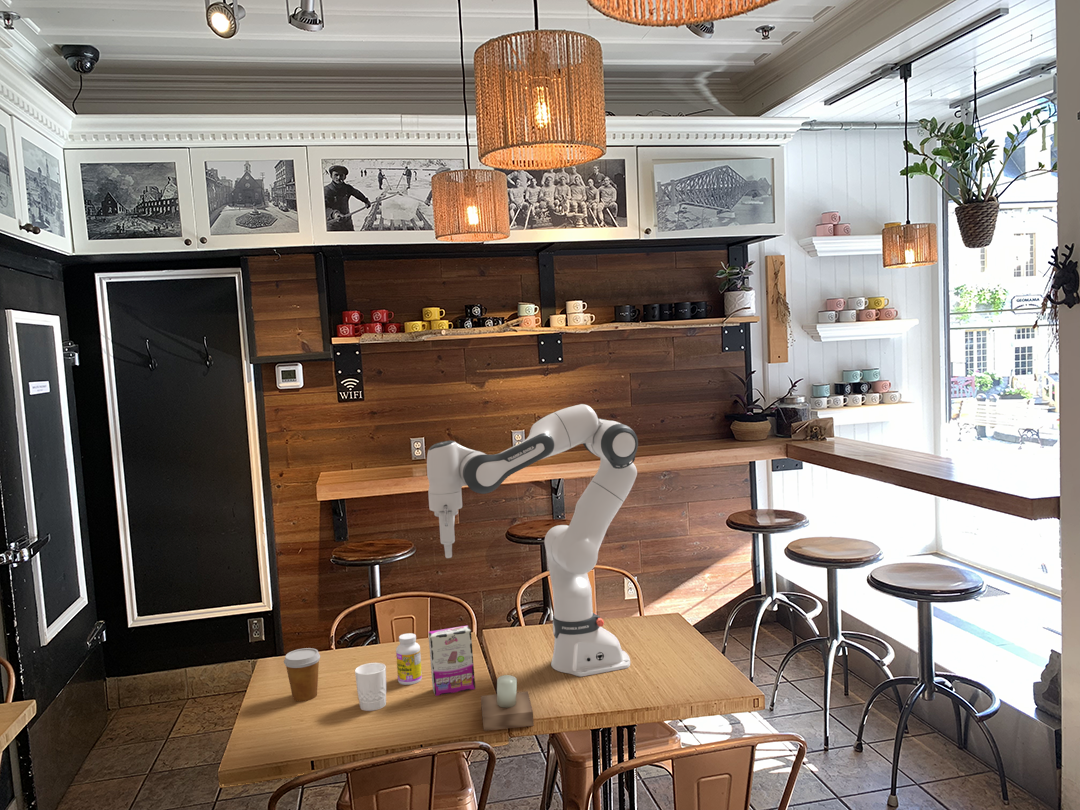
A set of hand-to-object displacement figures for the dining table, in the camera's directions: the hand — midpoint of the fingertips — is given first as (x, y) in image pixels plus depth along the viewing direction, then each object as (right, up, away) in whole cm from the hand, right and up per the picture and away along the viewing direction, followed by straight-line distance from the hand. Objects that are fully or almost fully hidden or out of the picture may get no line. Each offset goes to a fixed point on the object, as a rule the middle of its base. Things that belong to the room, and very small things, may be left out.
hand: (448, 553), depth 218 cm
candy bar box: (+1, -37, +1) cm, 37 cm away
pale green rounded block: (+16, -34, -17) cm, 41 cm away
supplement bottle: (-12, -38, +9) cm, 40 cm away
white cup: (-19, -39, -6) cm, 44 cm away
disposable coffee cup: (-39, -40, +2) cm, 56 cm away
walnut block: (+16, -38, -17) cm, 45 cm away
